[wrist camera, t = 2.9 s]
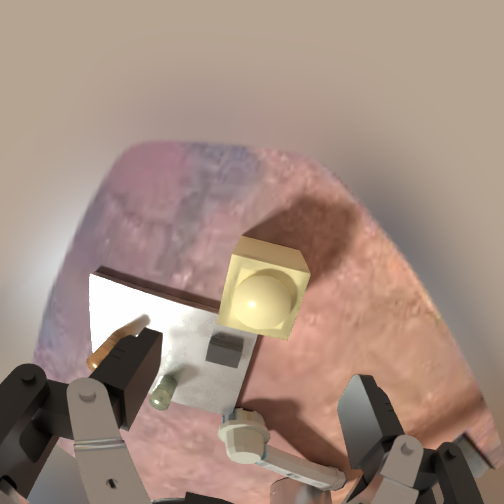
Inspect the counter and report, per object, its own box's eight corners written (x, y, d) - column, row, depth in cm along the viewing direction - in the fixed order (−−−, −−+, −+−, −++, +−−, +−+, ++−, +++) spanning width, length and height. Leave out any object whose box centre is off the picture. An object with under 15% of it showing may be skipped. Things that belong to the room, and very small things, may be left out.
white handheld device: (325, 496, 28) (206, 463, 21) (318, 466, 35) (209, 416, 28) (353, 484, 27) (243, 450, 20) (344, 454, 34) (242, 400, 27)
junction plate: (261, 319, 24) (259, 358, 18) (232, 410, 28) (226, 450, 22) (95, 270, 24) (59, 292, 18) (99, 366, 27) (75, 395, 22)
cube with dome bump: (299, 250, 23) (312, 277, 16) (283, 303, 24) (288, 345, 17) (241, 235, 22) (230, 256, 16) (228, 290, 24) (214, 328, 17)
